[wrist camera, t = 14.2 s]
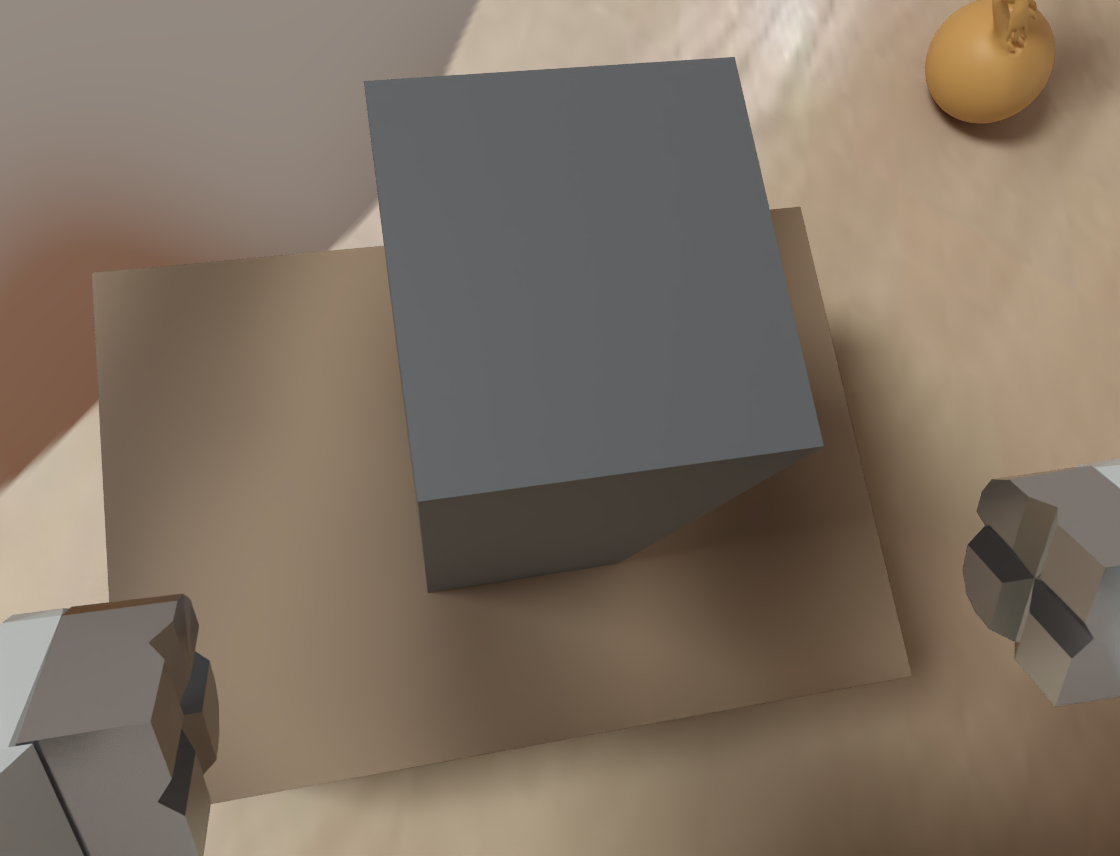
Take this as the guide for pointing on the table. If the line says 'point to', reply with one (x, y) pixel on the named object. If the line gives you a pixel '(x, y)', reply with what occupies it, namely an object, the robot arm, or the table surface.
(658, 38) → the table surface
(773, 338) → the tall grey pillar block
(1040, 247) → the table surface
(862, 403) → the table surface
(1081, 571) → the robot arm
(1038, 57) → the figurine
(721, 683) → the walnut shelf
